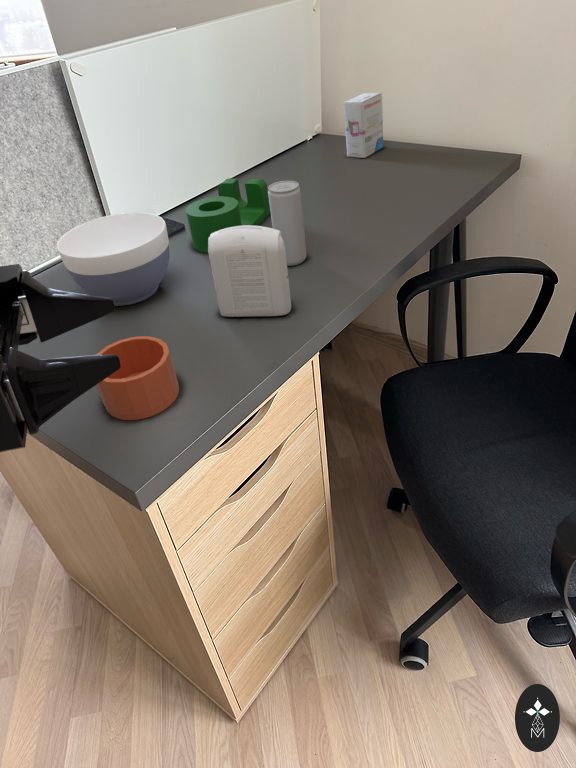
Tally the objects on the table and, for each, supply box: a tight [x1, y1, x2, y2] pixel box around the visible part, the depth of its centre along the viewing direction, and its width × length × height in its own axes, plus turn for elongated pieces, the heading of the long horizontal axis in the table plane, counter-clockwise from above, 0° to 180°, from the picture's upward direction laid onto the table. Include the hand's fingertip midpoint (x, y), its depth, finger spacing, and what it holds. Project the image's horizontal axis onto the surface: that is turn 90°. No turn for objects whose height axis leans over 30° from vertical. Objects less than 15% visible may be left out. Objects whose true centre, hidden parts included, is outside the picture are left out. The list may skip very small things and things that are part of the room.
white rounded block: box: [207, 225, 292, 318], centre depth 76 cm, size 10×4×12 cm, turn 83°
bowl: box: [56, 211, 171, 307], centre depth 86 cm, size 16×16×10 cm
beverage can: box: [267, 180, 307, 267], centre depth 88 cm, size 5×5×12 cm
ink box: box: [343, 92, 384, 159], centre depth 128 cm, size 9×5×12 cm, turn 141°
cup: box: [95, 335, 180, 421], centre depth 66 cm, size 9×9×6 cm
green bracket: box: [185, 177, 271, 254], centre depth 102 cm, size 18×9×6 cm, turn 160°
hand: (116, 330), depth 47 cm, fingers open, 9 cm apart
